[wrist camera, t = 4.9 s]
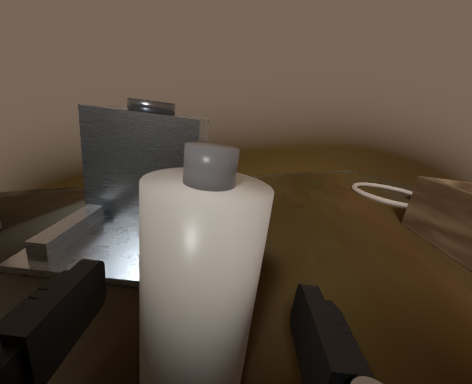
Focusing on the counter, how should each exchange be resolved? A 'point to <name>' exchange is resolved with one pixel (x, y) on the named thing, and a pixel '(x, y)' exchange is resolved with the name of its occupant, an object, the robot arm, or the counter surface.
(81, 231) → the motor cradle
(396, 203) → the hand towel holder
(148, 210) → the white bottle
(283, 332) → the counter surface
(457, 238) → the kettle caddy
